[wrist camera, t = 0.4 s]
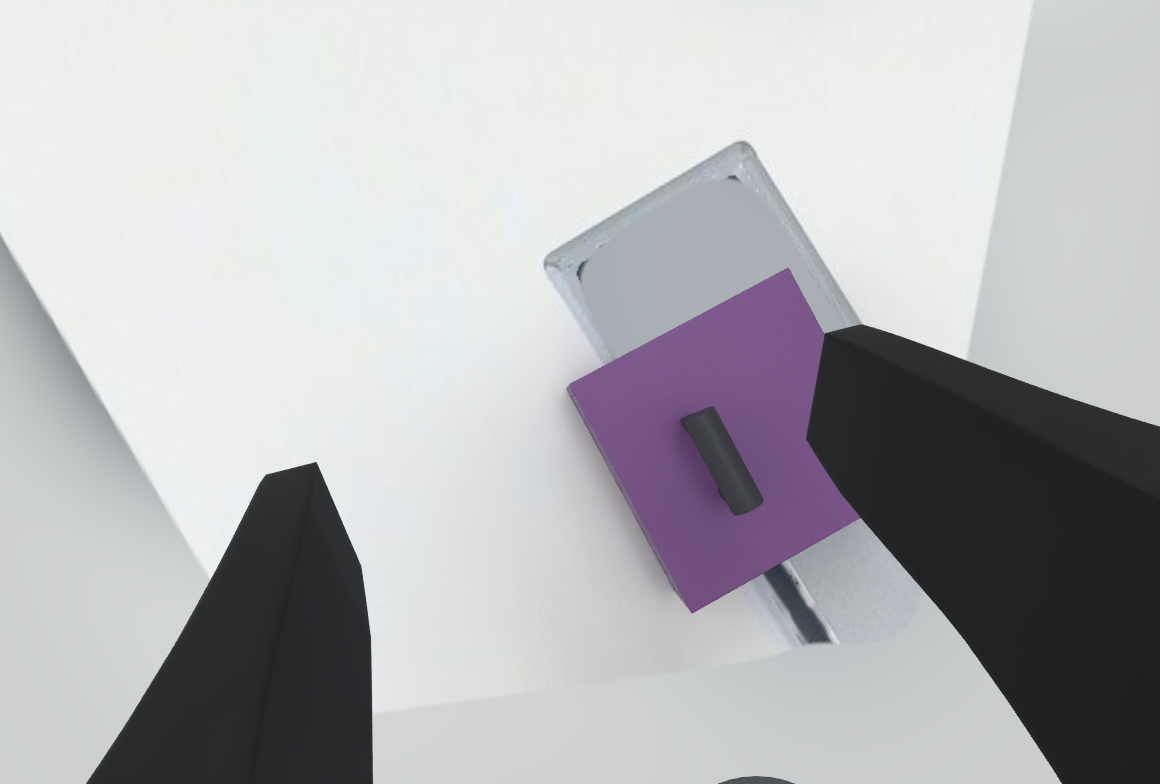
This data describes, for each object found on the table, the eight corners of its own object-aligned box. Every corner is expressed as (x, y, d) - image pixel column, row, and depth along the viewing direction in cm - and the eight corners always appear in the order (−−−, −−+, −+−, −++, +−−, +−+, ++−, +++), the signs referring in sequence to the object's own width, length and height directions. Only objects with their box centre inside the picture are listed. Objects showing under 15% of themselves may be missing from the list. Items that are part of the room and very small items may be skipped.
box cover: (784, 269, 35) (819, 249, 31) (902, 489, 35) (954, 499, 31) (568, 385, 35) (572, 380, 30) (689, 610, 34) (711, 638, 30)
